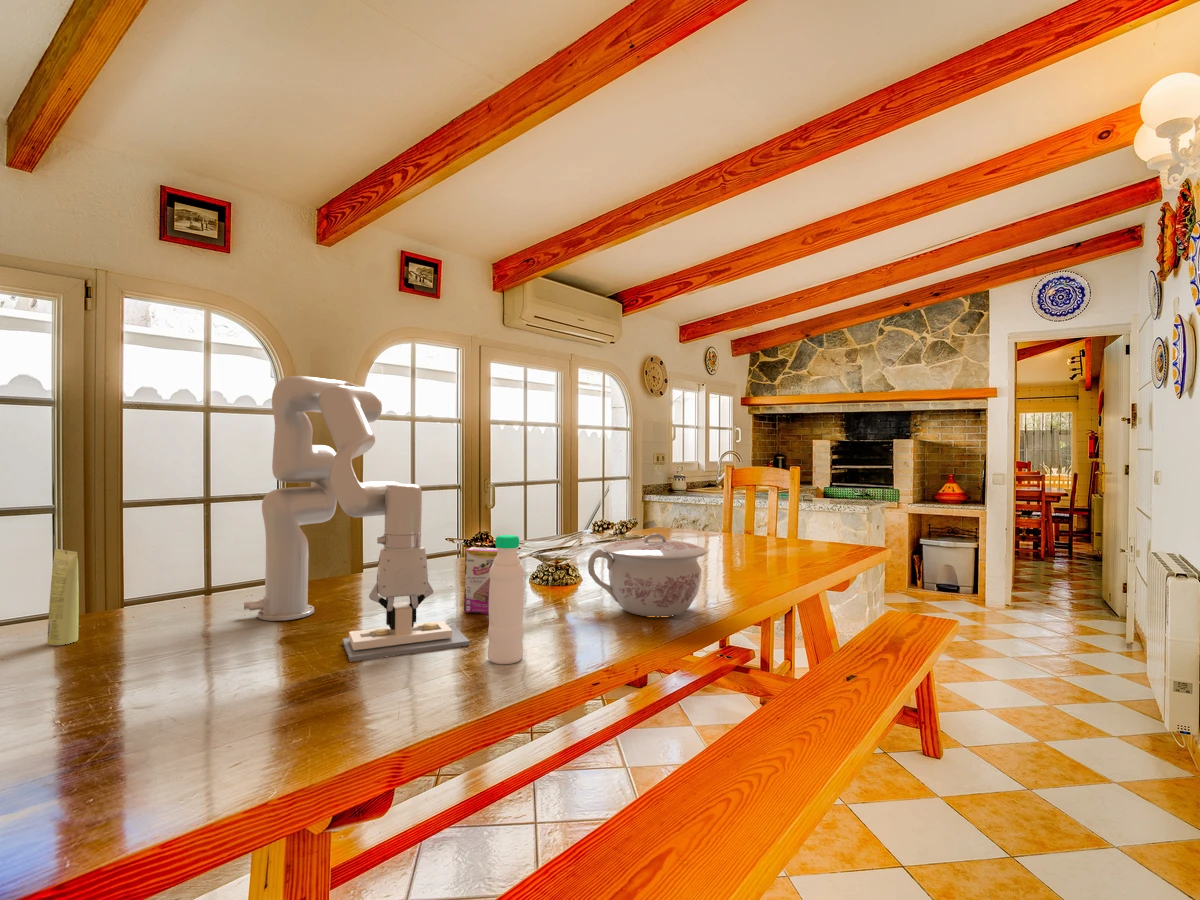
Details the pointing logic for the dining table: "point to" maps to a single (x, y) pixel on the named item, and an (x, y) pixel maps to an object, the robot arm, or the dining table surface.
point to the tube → (64, 599)
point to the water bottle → (506, 603)
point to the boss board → (406, 645)
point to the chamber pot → (651, 574)
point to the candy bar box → (478, 579)
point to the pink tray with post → (399, 631)
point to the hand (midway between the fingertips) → (401, 626)
